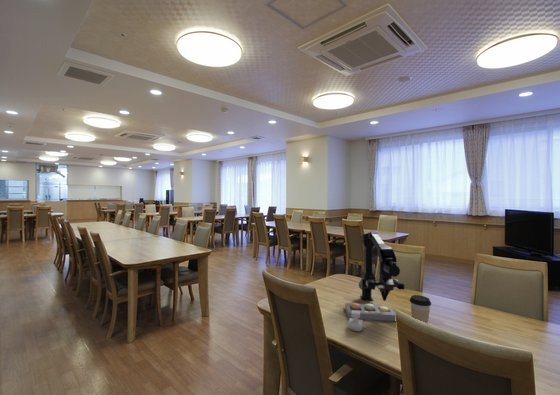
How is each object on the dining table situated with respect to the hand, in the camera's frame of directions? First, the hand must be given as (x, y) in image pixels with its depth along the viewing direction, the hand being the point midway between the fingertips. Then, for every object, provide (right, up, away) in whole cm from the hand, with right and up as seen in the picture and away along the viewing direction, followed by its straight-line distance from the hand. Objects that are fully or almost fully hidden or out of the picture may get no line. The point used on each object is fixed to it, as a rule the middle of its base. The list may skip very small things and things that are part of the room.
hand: (384, 300), depth 150 cm
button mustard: (0, -7, 0) cm, 7 cm away
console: (-8, -8, +1) cm, 11 cm away
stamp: (-20, -8, -17) cm, 27 cm away
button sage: (-8, -6, +1) cm, 10 cm away
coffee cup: (+11, -9, -15) cm, 20 cm away
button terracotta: (-15, -6, +1) cm, 16 cm away
